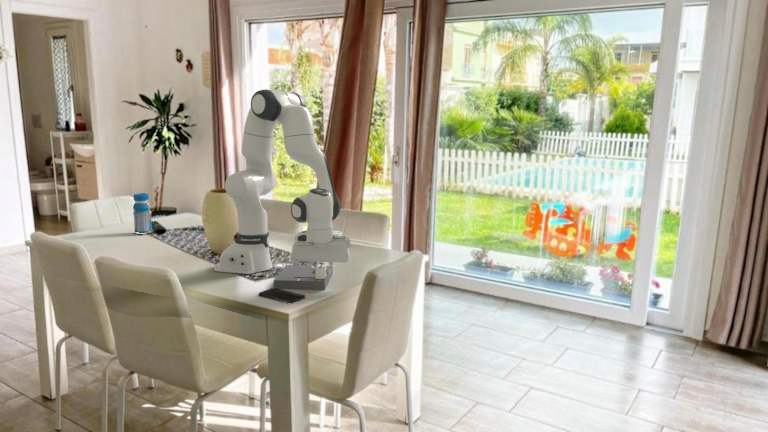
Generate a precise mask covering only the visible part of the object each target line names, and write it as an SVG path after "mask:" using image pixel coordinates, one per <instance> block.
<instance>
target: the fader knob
mask: <svg viewBox="0 0 768 432" xmlns="http://www.w3.org/2000/svg"><path fill="white" fill-rule="evenodd" d="M316 266H317V267H316V279H325V277H326V266H327V264H321V263H317V265H316Z"/></svg>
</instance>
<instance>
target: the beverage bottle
mask: <svg viewBox="0 0 768 432" xmlns="http://www.w3.org/2000/svg"><path fill="white" fill-rule="evenodd" d="M149 197H150V196H149V194H148V193H143V192H141V193H140V192H139V193H134V194H133V201H134V204H133V207H132V210H133V212H132V215H133V222H134V223H133V224H134V233H135V232H139V233H145V232H149V231H151V230H152V231H153V226H152V209H151V208H152V207H151V204H150V203H149V202H148V201H149V200H150V199H149Z"/></svg>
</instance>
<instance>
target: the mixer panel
mask: <svg viewBox="0 0 768 432" xmlns="http://www.w3.org/2000/svg"><path fill="white" fill-rule="evenodd" d="M313 267H314V268H316V267H317V265H313ZM329 267H330V265H326V268H329ZM333 268H334V266H333V265H332V267H331V269H330V274H326V277H325V279H316V274H312V273H311V268H310V267H309V265H301V264H300V265H299V264H298V265H297V264H294V265H293V264H291V265H290V264H285V266H284V267H283V268H282V270H281V271H280V272H279V273H278V275H276V277H275V278H274V279H273V288H277V289H281V290H287V289H288V290H321V291H322V290H326V289H327V286H328V284H329V282H330V280H331V278H332V276H333V274H334V269H333Z"/></svg>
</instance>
